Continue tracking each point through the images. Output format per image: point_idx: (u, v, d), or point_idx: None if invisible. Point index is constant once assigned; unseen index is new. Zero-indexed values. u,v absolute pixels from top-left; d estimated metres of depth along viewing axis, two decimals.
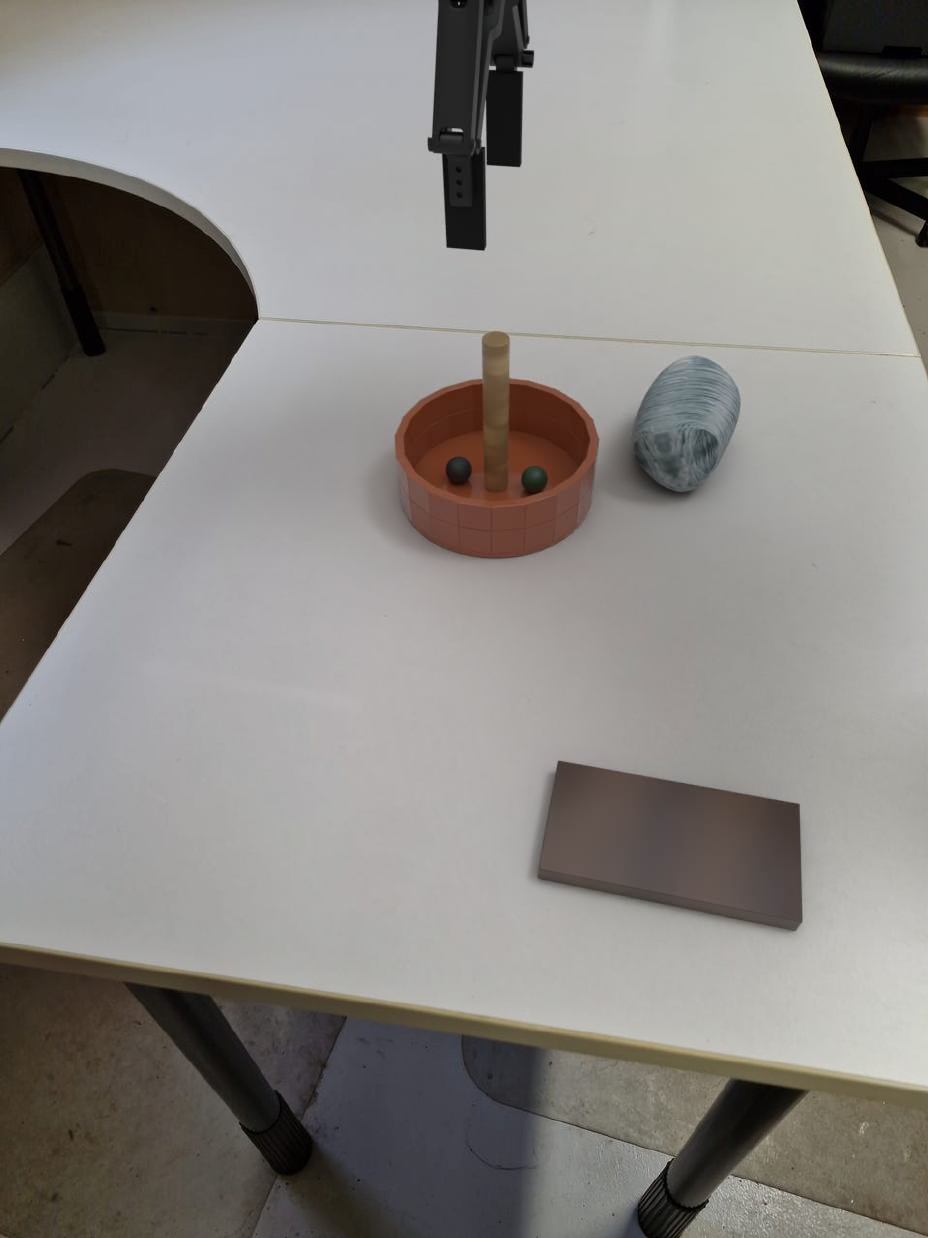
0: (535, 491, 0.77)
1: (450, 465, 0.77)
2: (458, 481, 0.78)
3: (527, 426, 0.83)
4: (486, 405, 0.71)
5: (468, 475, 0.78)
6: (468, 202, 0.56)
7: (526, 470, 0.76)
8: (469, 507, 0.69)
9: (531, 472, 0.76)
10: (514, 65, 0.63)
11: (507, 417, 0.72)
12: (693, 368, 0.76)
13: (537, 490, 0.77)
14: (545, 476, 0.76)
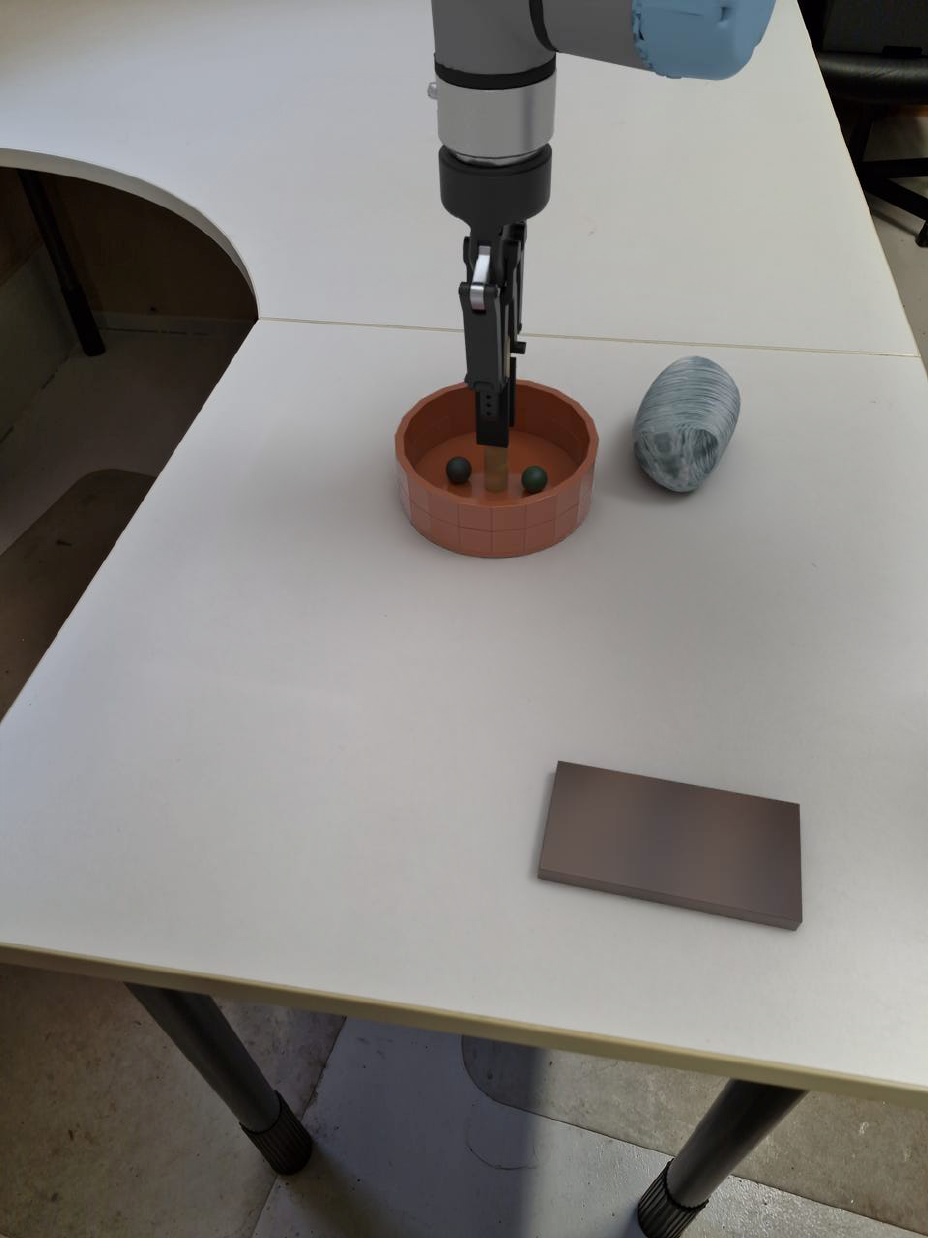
0: (535, 491, 0.77)
1: (450, 465, 0.77)
2: (458, 481, 0.78)
3: (527, 426, 0.83)
4: None
5: (468, 475, 0.78)
6: (495, 418, 0.69)
7: (526, 470, 0.76)
8: (469, 507, 0.69)
9: (531, 472, 0.76)
10: None
11: None
12: (693, 368, 0.76)
13: (537, 490, 0.77)
14: (545, 476, 0.76)
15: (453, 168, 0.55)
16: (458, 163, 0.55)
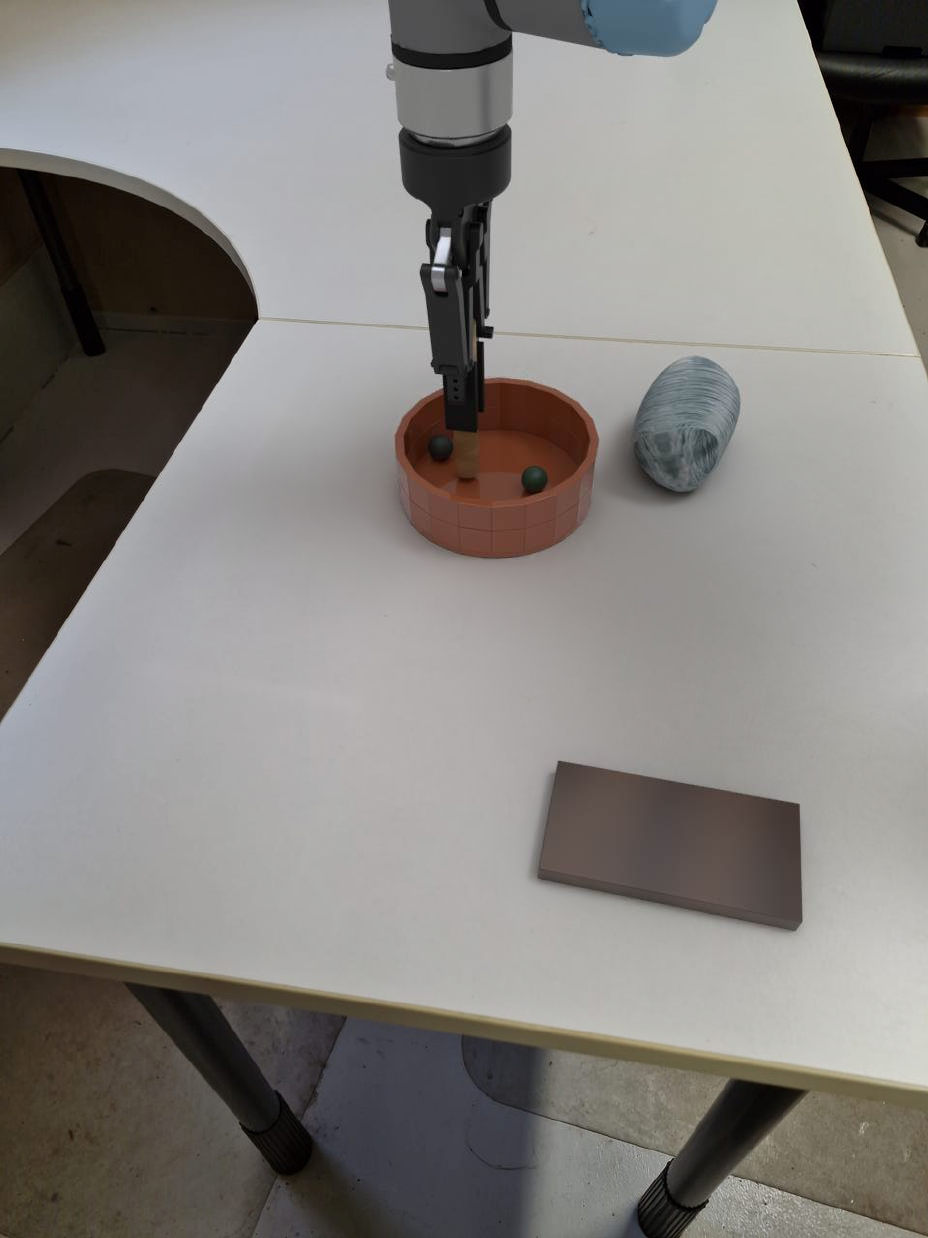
0: (535, 491, 0.77)
1: None
2: (431, 439, 0.80)
3: (527, 426, 0.83)
4: None
5: None
6: (463, 403, 0.69)
7: (526, 470, 0.76)
8: (469, 507, 0.69)
9: (531, 472, 0.76)
10: None
11: None
12: (693, 368, 0.76)
13: (537, 490, 0.77)
14: (545, 476, 0.76)
15: (412, 149, 0.55)
16: (417, 144, 0.55)
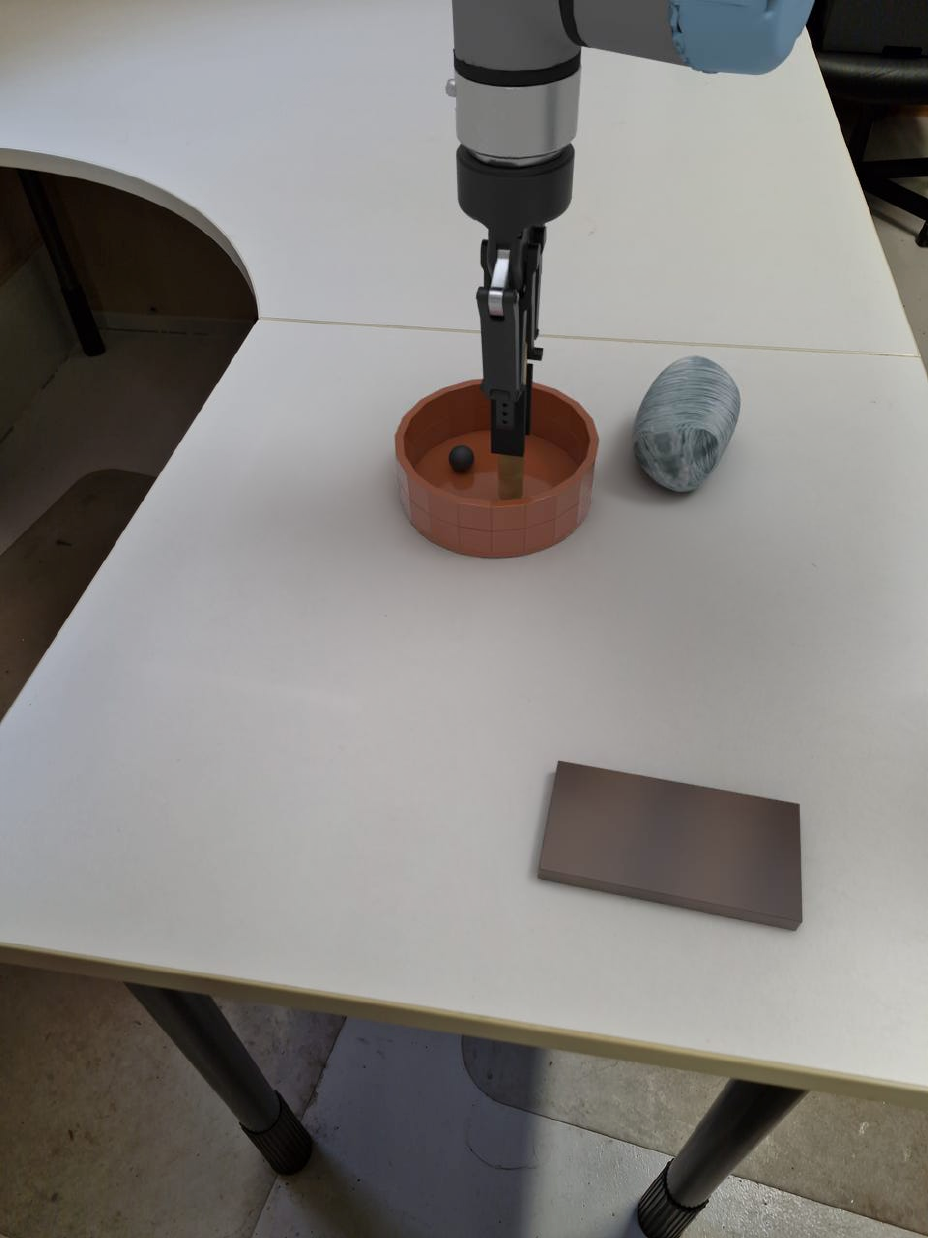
0: None
1: (451, 454, 0.78)
2: (468, 458, 0.78)
3: None
4: None
5: (470, 450, 0.79)
6: (511, 427, 0.67)
7: None
8: (469, 507, 0.69)
9: None
10: None
11: None
12: (693, 368, 0.76)
13: None
14: None
15: (471, 168, 0.53)
16: (478, 164, 0.52)
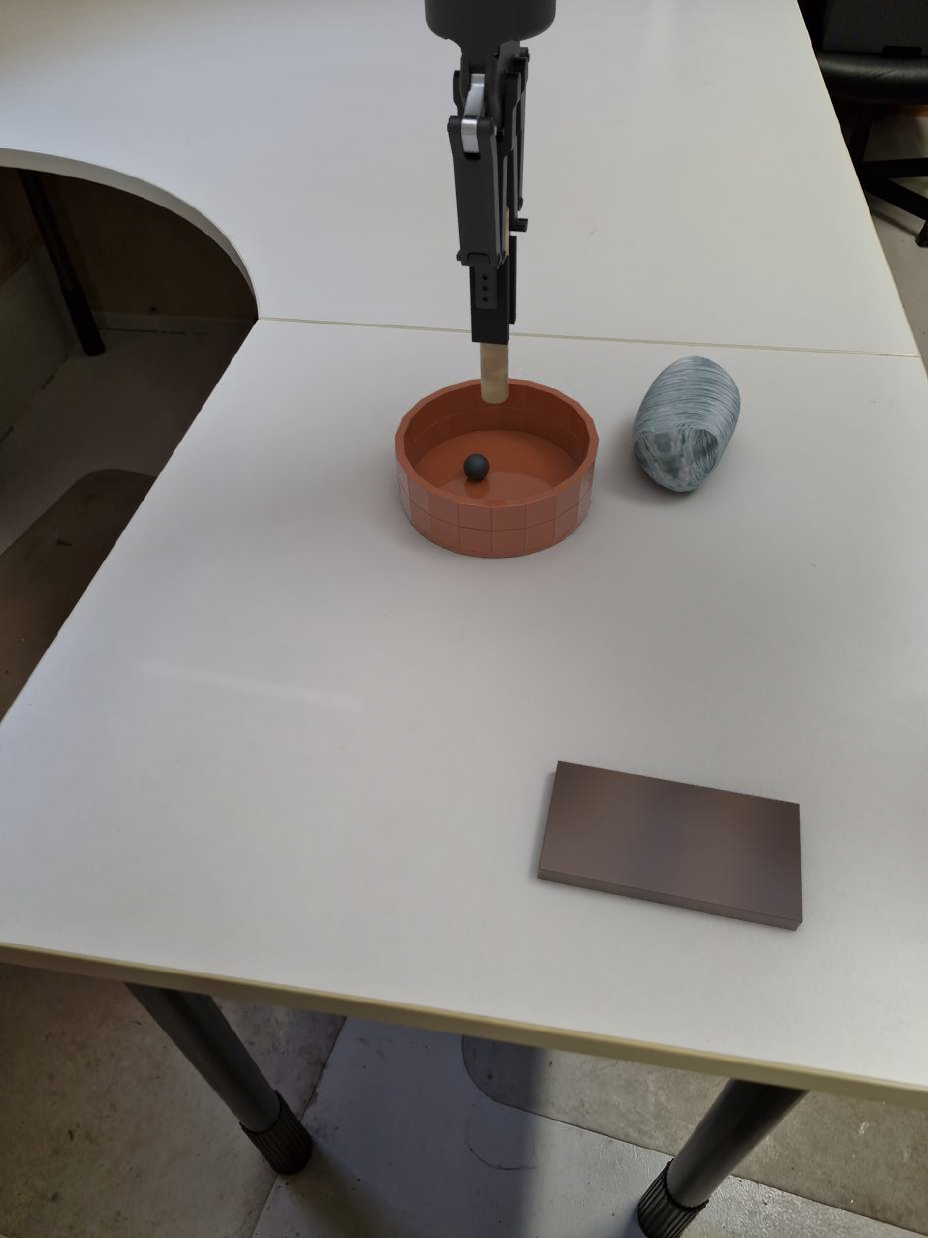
0: None
1: (475, 470, 0.77)
2: None
3: (527, 426, 0.83)
4: None
5: None
6: (493, 305, 0.60)
7: None
8: (469, 507, 0.69)
9: None
10: None
11: None
12: (693, 368, 0.76)
13: None
14: None
15: None
16: None
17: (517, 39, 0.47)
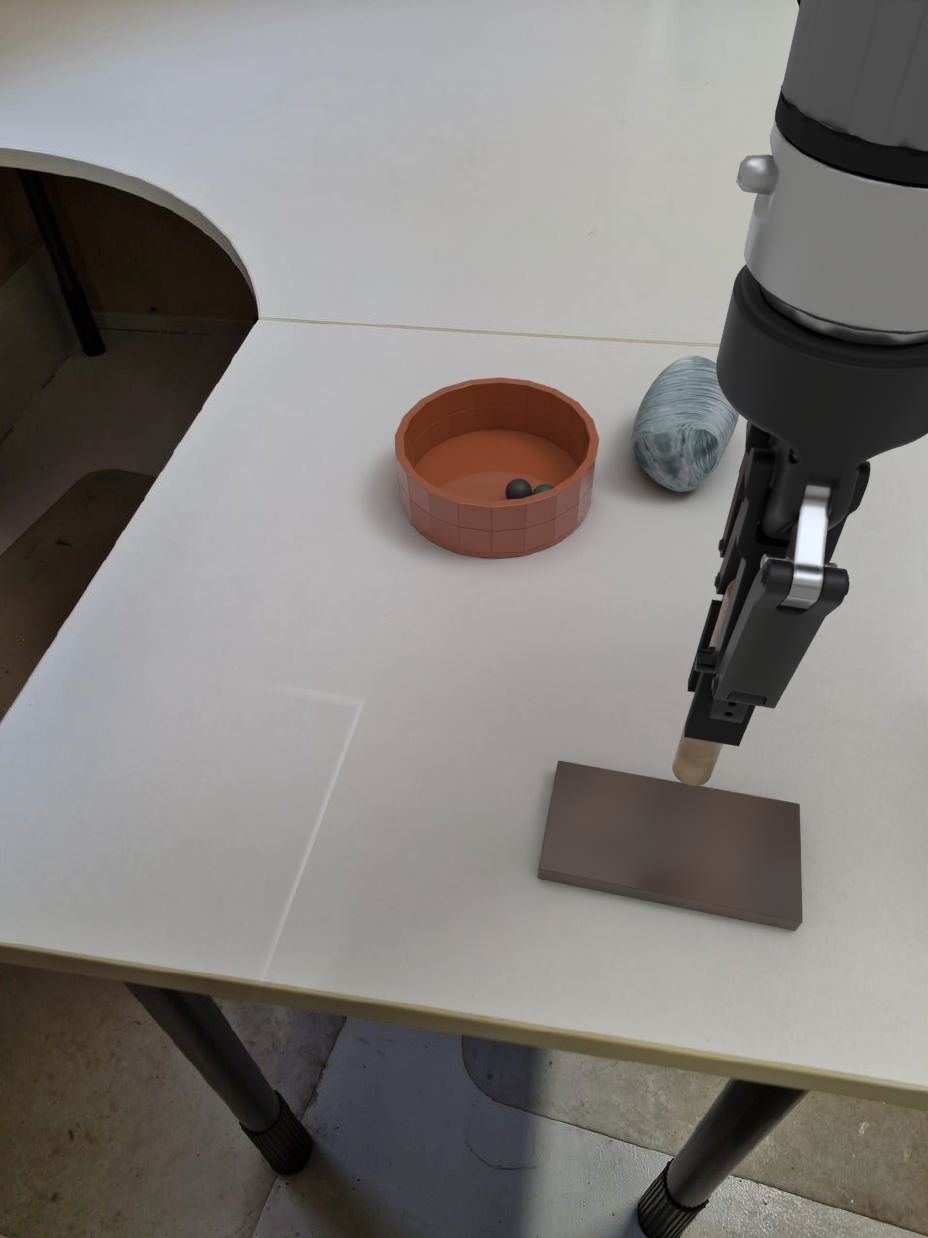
0: None
1: (506, 489, 0.76)
2: (523, 488, 0.75)
3: (527, 426, 0.83)
4: None
5: (526, 481, 0.75)
6: (739, 721, 0.39)
7: None
8: (469, 507, 0.69)
9: None
10: None
11: None
12: (693, 368, 0.76)
13: None
14: None
15: (786, 343, 0.25)
16: (803, 335, 0.25)
17: None
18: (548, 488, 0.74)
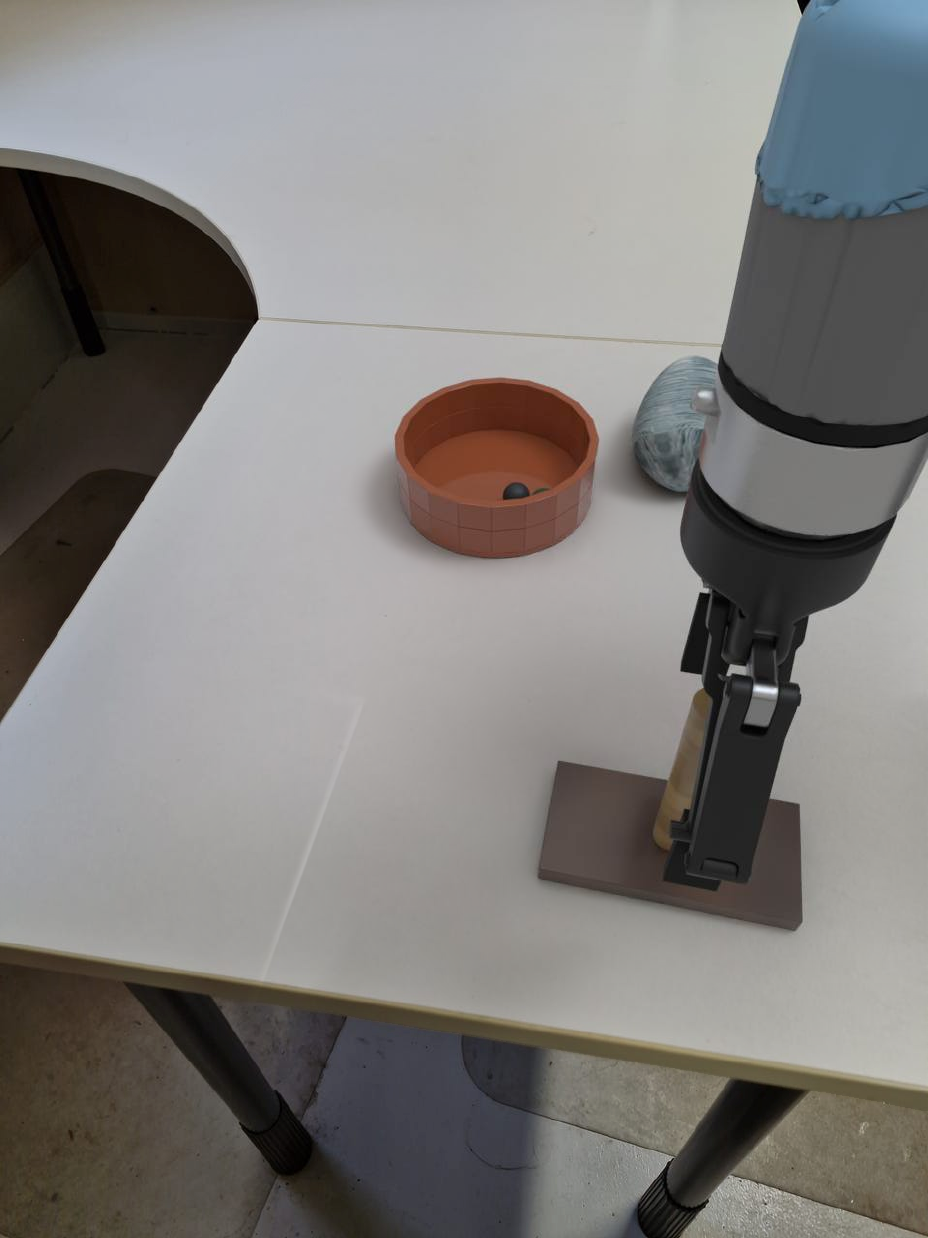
0: None
1: (503, 496, 0.75)
2: (519, 497, 0.74)
3: (527, 426, 0.83)
4: (682, 773, 0.47)
5: (521, 486, 0.75)
6: (714, 879, 0.40)
7: None
8: (469, 507, 0.69)
9: None
10: None
11: None
12: (693, 368, 0.76)
13: None
14: None
15: (731, 533, 0.31)
16: (744, 528, 0.31)
17: None
18: None
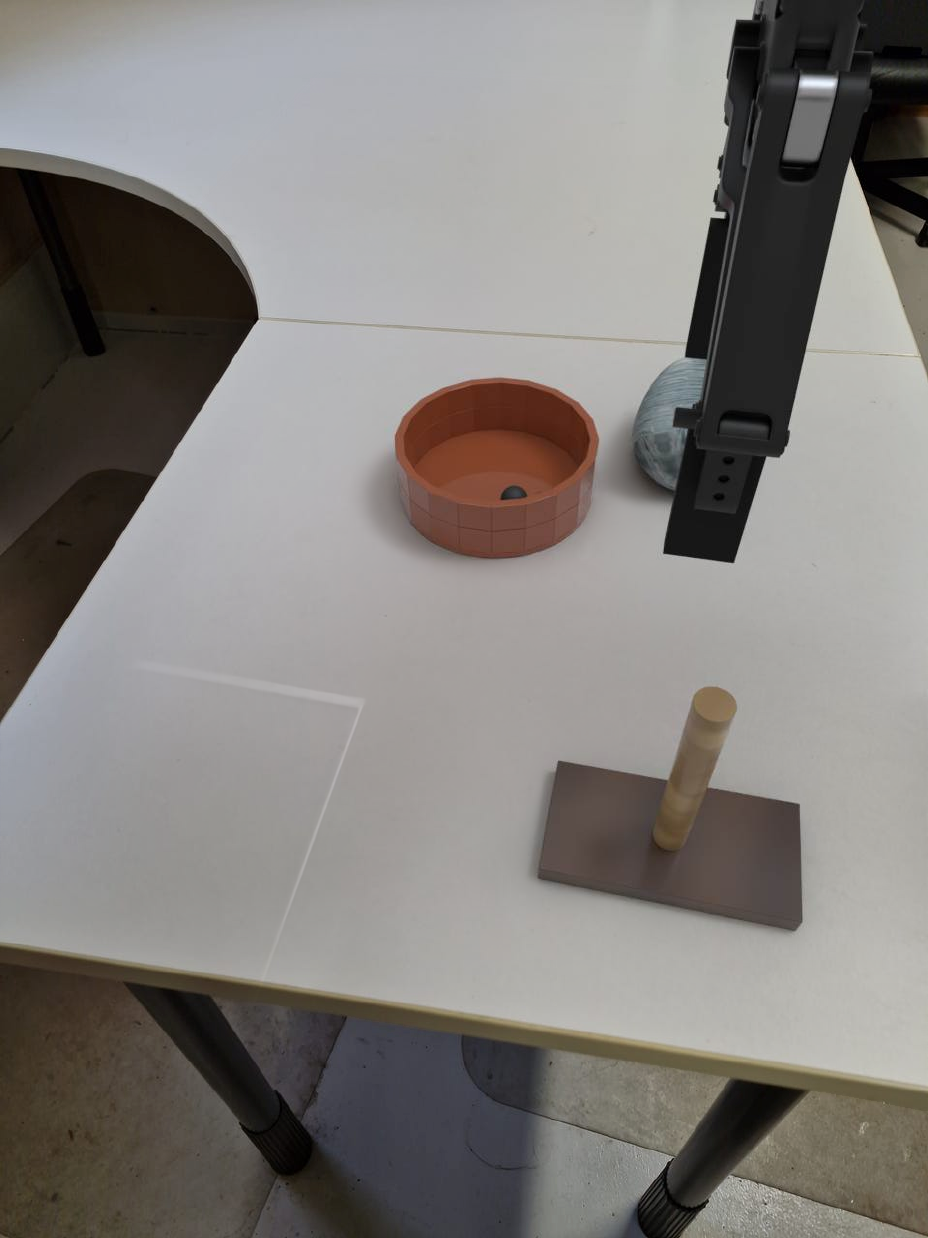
0: None
1: None
2: None
3: (527, 426, 0.83)
4: (682, 773, 0.47)
5: (517, 492, 0.74)
6: (733, 508, 0.30)
7: None
8: (469, 507, 0.69)
9: None
10: None
11: None
12: (693, 368, 0.76)
13: None
14: None
15: None
16: None
17: None
18: None
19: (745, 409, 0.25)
